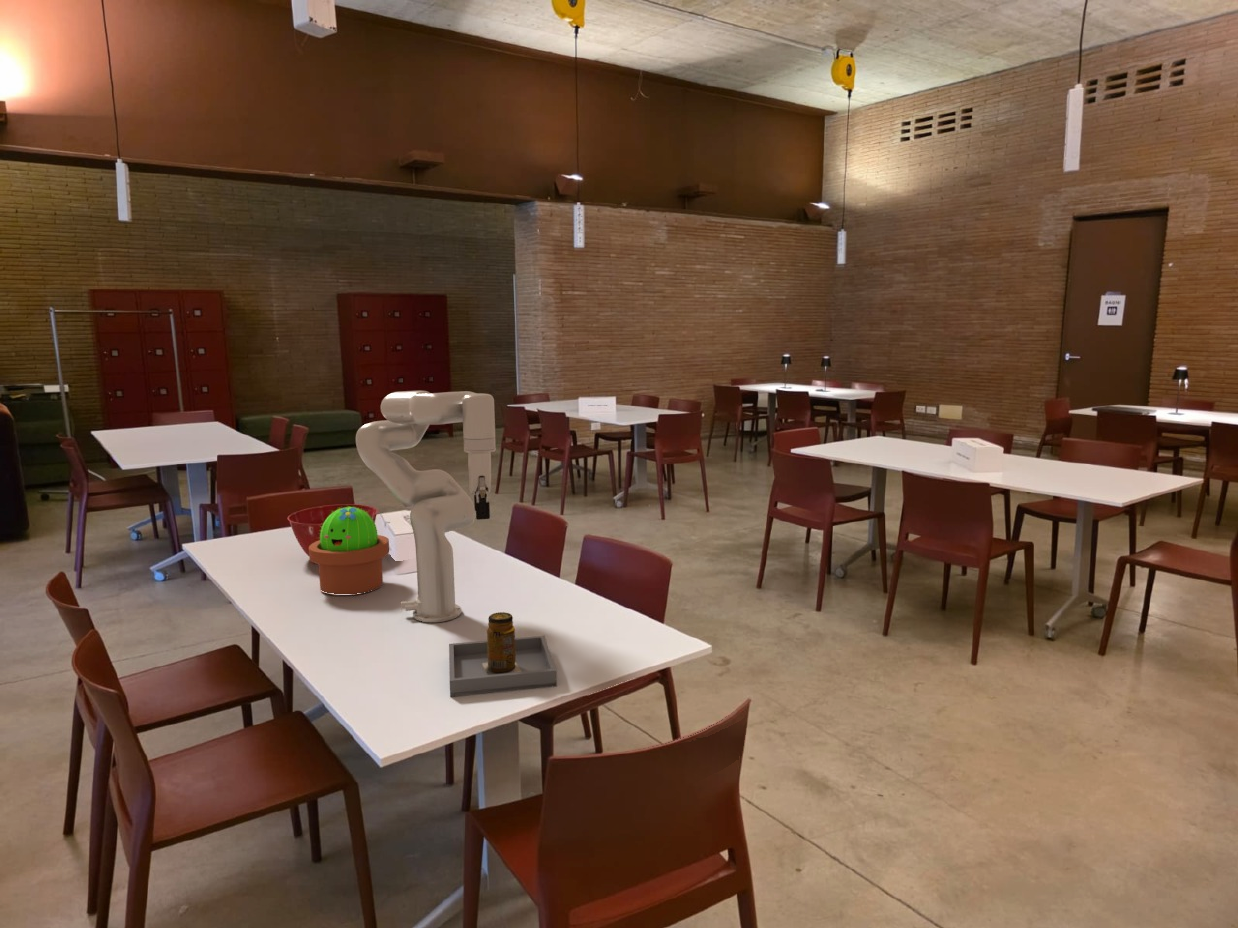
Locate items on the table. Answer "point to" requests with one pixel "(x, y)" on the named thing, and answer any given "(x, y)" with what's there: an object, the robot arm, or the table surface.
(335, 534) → the potted cactus
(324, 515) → the mixing bowl
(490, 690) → the tray
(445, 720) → the table surface
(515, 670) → the condiment
